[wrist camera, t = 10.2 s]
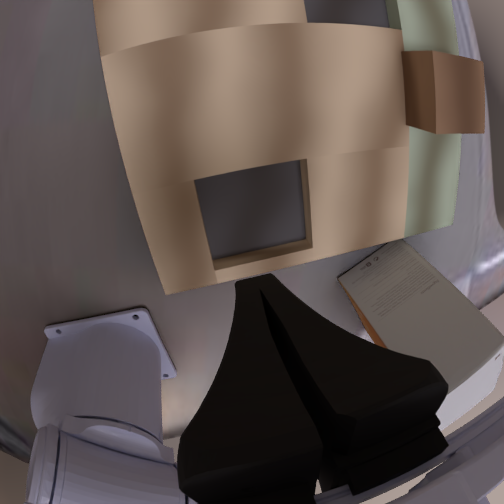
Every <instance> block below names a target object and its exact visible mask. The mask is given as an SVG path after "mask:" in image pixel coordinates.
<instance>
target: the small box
mask: <svg viewBox="0 0 504 504" xmlns="http://www.w3.org/2000/svg"><path fill="white" fill-rule="evenodd" d="M338 281H339V282H340V284H341V286H342V287H343V289H344V290H345V292H346V293H347V295H348V297H349V299H350V301H351V302H352V304H353V306H354V308H355V310H356V312H357V313H358V315H359V317H360V319H361V321H362V323H363V325H364V327H365V329H366V331H367V333H368V334H369V336H370V337H371V338H372V340H373V341H374V343H375V344H376V345H378V346H381V347H384V348H387V349H390V350H393V351H395V352H399V353H402V354H406V355H410V356H414V357H418V358H422V359H426V360H429V361H430V362H431V363H432V364H433V365H434V366H435V367H436V368H437V370H438V371H439V372H440V373H441V375H442V376H443V378H444V379H445V381H446V382H447V383H448V385H449V388H448V393H447V395H446V398H445V400H444V401H443V403H442V405H441V406H440V408H439V409H438V411H437V413H436V415H437V417H438V418H439V420H440V423H441V424H440V426H438V428H439V429H440V431H442V430H443V429H445V428H446V427H447V426H449V425H450V424H452V423H453V422H454V421H456V420H457V419H458V418H460V417H461V416H462V415H464V414H465V413H466V412H468V411H469V410H470V409H471V408H473V407H474V406H475V405H476V404H478V403H479V402H480V401H481V400H482V399H484V398H485V397H486V396H487V395H488V394H489V393H490V392H492V391H493V390H494V388H495V385H496V382H497V379H498V376H499V374H500V372H501V369H502V365H503V358H504V336H503V335H502V334H501V333H500V332H499V331H498V329H497V328H495V326H494V325H493V324H492V323H491V322H490V321H489V320H488V319H487V318H486V317H485V316H484V315H483V314H482V313H481V312H480V311H479V310H478V309H477V308H476V307H475V305H474V304H473V303H472V302H471V301H470V300H469V299H467V298H466V297H465V296H464V295H463V294H462V293H461V292H460V291H459V290H458V289H457V288H456V287H455V286H454V285H453V284H452V283H451V282H450V281H449V280H447V279H446V278H445V277H444V276H443V275H442V274H441V273H440V272H439V271H438V270H436V269H435V268H434V267H433V266H432V265H431V264H430V263H429V262H428V261H426V260H425V259H424V258H423V257H422V256H421V255H420V254H419V253H418V252H417V251H416V250H414V249H413V248H412V247H411V246H410V245H409V244H407V243H406V242H405V241H404V240H403V239H402V238H401V239H397V240H394V241H390V242H389V243H387V244H386V245H385V246H383V247H382V248H380V249H379V250H378V251H376V252H375V253H373V254H372V255H371V256H369V257H368V258H366V259H365V260H363V261H362V262H361V263H359V264H358V265H356V266H355V267H353V268H352V269H351V270H349V271H348V272H346V273H345V274H343V275H342V276H340V277H339V278H338Z"/></svg>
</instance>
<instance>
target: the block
mask: <svg viewBox="0 0 504 504" xmlns="http://www.w3.org/2000/svg"><path fill="white" fill-rule="evenodd" d="M401 56H402V66H403V78H404V92H405V114H406V125H407V126H411V127H414V128H418V129H421V130H424V131H427V132H431V133H434V134H465V133H484V129H485V87H484V69H483V62H482V61H478V60H474V59H470V58H466V57H462V56H457V55H452V54H448V53H443V52H437V51H401Z"/></svg>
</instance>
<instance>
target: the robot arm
mask: <svg viewBox="0 0 504 504" xmlns="http://www.w3.org/2000/svg"><path fill="white" fill-rule="evenodd" d="M235 290H236V300H235V310H234V316H233V322H232V327H231V331H230V335H229V340H228V343H227V347H226V350H225V353H224V356H223V359H222V362H221V364H220V367H219V369H218V371H217V374H216V376H215V379H214V381H213V383H212V385H211V387H210V389H209V391H208V393H207V395H206V397H205V398H204V400H203V402H202V404H201V406H200V408H199V409H198V411H197V413H196V414H195V416H194V417H193V419H192V420H191V422H190V423H189V425H188V426H187V428H186V429H185V431H184V432H183V433H182V435H181V438H180V443H179V449H178V456H177V463H176V462H174V453H173V448H170V447H167V446H164V445H163V433H162V404H161V380H163V379H168V378H174V377H176V375H177V371H176V369H175V367H174V365H173V363H172V361H171V359H170V357H169V355H168V353H167V351H166V349H165V346H164V344H163V342H162V340H161V338H160V336H159V334H158V332H157V329H156V327H155V325H154V323H153V321H152V318H151V316H150V314H149V312H148V310H147V309H145V308H137V309H132V310H127V311H122V312H117V313H113V314H108V315H102V316H97V317H92V318H87V319H82V320H77V321H72V322H66V323H61V324H55V325H50V326H46V327H45V330H44V333H45V334H46V336H47V337H48V342H47V345H46V348H45V350H44V353H43V356H42V359H41V362H40V365H39V368H38V371H37V374H36V378H35V381H34V384H33V387H32V392H31V411H32V416H33V420H34V423H35V425H36V427H37V429H38V431H37V434H36V437H35V441H34V444H33V449H32V453H31V458H30V463H29V470H28V477H27V485H26V502H25V503H24V504H359V503H361V502H364V501H366V500H369V499H371V498H374V497H376V496H378V495H380V494H383V493H385V492H387V491H389V490H391V489H394V488H396V487H398V486H400V485H402V484H404V483H406V482H408V481H410V480H412V479H414V478H416V477H417V476H419V475H421V474H423V473H425V472H427V471H428V470H430V469H432V468H433V467H435V466H437V465H439V464H440V463H442V462H443V463H442V464H440V465H439V466H437V467H436V468H435V469H433V470H432V471H430V472H429V473H427V474H426V476H425V478H424V479H423V480H421V481H420V482H419V483H418V484H417V485H416V486H414V487H413V488H411V489H410V490H409V492H408V493H407V494H405V495H403V496H401V497H399V498H397V499H395V500H393V501H391V502H388V503H386V504H490V503H489V501H488V499H487V497H486V495H487V494H489V493H490V492H491V491H492V490H493V489H494V488H496V487H497V486H498V485H499V484H500V483H501V482H502V481H504V397H503V398H502V399H500V400H499V401H497V402H496V403H495V404H494V405H492V406H491V407H489V408H488V409H487V410H485V411H484V412H483V413H481V414H480V415H478V416H477V417H475V418H474V419H473V420H471V421H470V422H468V423H467V424H465V425H464V426H462V427H460V428H459V429H457V430H456V431H454V432H453V433H451V434H449V435H448V436H446V437H444V436H443V434H442V433H441V431H440V429H439V428H438V426H440V424H441V423H440V420H439V418H438V417H437V415H436V413H437V411H438V409H439V408H440V406H441V405H442V403H443V401H444V400H445V398H446V395H447V393H448V388H449V385H448V383H447V382H446V381H445V379H444V378H443V376H442V375H441V373H440V372H439V371H438V370H437V368H436V367H435V366H434V365H433V364H432V363H431V362H430V361H429V360H426V359H422V358H418V357H414V356H410V355H406V354H402V353H399V352H395V351H393V350H390V349H387V348H384V347H381V346H378V345H376V344H373V343H371V342H369V341H367V340H364V339H362V338H360V337H357V336H355V335H353V334H351V333H349V332H347V331H346V330H344V329H342V328H340V327H339V326H337V325H335V324H334V323H332V322H330V321H329V320H327V319H326V318H324V317H323V316H321V315H320V314H318V313H317V312H316V311H314V310H313V309H312V308H310V307H309V306H308V305H306V304H305V303H304V302H303V301H301V300H300V299H299V298H298V297H296V296H295V295H294V294H293V293H292V292H291V291H290V290H289V289H287V288H286V287H285V286H284V285H283V284H282V283H281V282H280V281H279V280H278V279H277V278H276V277H275V276H274V275H273V274H271V273H269V274H265V275H261V276H257V277H252V278H248V279H244V280H240V281H237V282H236V283H235ZM134 315H138V317H136V316H134ZM58 329H59V330H60V331H59V330H58ZM445 460H446V461H445ZM444 461H445V462H444ZM317 479H318V480H319V483H320V486H321V490H322V493H320V494H316V495H315V488H316V481H317Z"/></svg>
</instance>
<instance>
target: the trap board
mask: <svg viewBox="0 0 504 504" xmlns="http://www.w3.org/2000/svg"><path fill="white" fill-rule="evenodd" d="M93 5H94V13H95V21H96V29H97V36H98V43H99V49H100V55H101V61H102V67H103V73H104V78H105V83H106V88H107V93H108V98H109V103H110V108H111V112H112V117H113V121H114V126H115V130H116V134H117V138H118V143H119V147H120V151H121V154H122V158H123V162H124V166H125V170H126V173H127V177H128V181H129V184H130V188H131V191H132V195H133V198H134V201H135V205H136V208H137V211H138V215H139V218H140V221H141V224H142V228H143V231H144V234H145V237H146V240H147V243H148V246H149V249H150V252H151V255H152V258H153V261H154V264H155V266H156V269H157V272H158V275H159V278H160V281H161V283H162V286H163V289H164V291H165V294H166V295H169V294H173V293H178V292H182V291H187V290H191V289H196V288H200V287H205V286H209V285H214V284H218V283H222V282H227V281H231V280H235V279H240V278H244V277H248V276H253V275H257V274H261V273H265V272H269V271H274V270H278V269H282V268H286V267H290V266H294V265H299V264H303V263H307V262H311V261H315V260H319V259H323V258H327V257H331V256H335V255H339V254H343V253H347V252H351V251H355V250H359V249H363V248H367V247H371V246H374V245H378V244H382V243H386V242H390V241H394V240H397V239H401V238H405V237H409V236H413V235H416V234H420V233H424V232H428V231H431V230H435V229H439V228H442V227H446V226H450V225H453V219H454V212H455V205H456V197H457V188H458V179H459V167H460V153H461V134H434V133H431V132H427V131H424V130H421V129H418V128H414V127H411V126H407V125H406V114H405V92H404V78H403V66H402V56H401V51H437V52H443V53H448V54H452V55H457V56H459V51H458V42H457V34H456V27H455V20H454V14H453V8H452V3H451V0H93Z"/></svg>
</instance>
